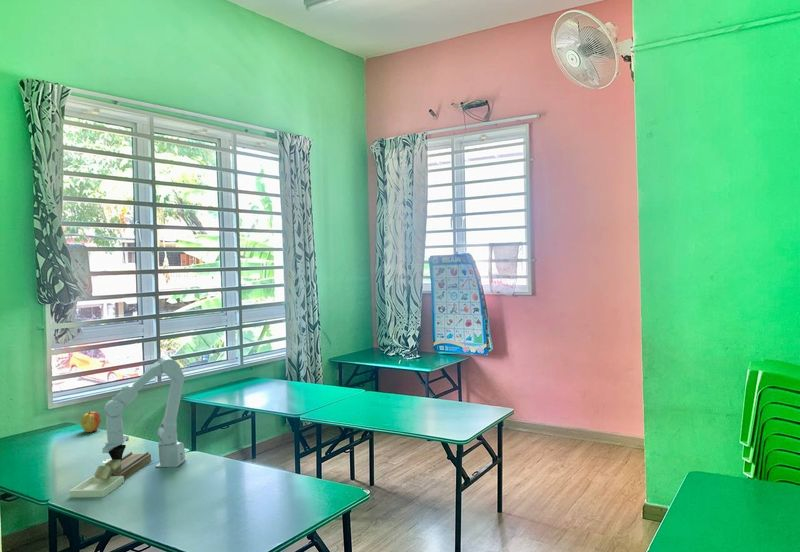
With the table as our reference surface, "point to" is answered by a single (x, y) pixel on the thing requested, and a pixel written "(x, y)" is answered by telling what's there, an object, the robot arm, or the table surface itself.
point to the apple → (90, 421)
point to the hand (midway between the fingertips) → (117, 464)
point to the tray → (96, 487)
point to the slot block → (132, 464)
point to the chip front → (103, 473)
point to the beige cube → (114, 465)
